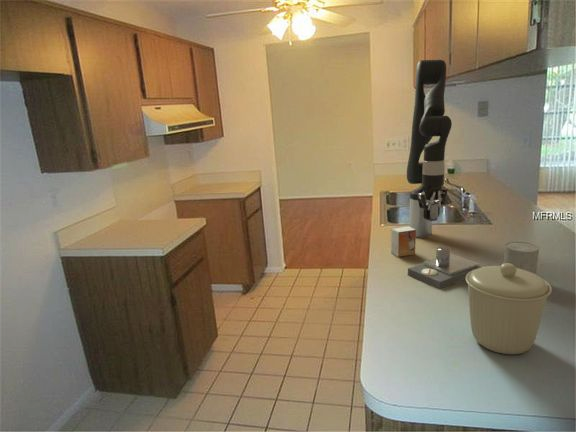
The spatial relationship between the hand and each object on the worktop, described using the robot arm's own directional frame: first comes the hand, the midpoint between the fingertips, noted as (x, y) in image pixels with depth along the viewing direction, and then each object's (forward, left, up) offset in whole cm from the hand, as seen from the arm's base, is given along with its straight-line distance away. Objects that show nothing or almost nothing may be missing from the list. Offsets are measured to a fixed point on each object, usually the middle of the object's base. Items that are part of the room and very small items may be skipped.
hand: (431, 217), depth 148 cm
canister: (+28, +48, -17) cm, 58 cm away
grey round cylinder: (-8, +30, -17) cm, 35 cm away
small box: (+3, -11, -17) cm, 21 cm away
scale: (+6, +12, -17) cm, 22 cm away
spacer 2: (+7, +12, -13) cm, 19 cm away
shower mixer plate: (+3, +12, -14) cm, 19 cm away
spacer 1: (0, 0, -1) cm, 1 cm away
